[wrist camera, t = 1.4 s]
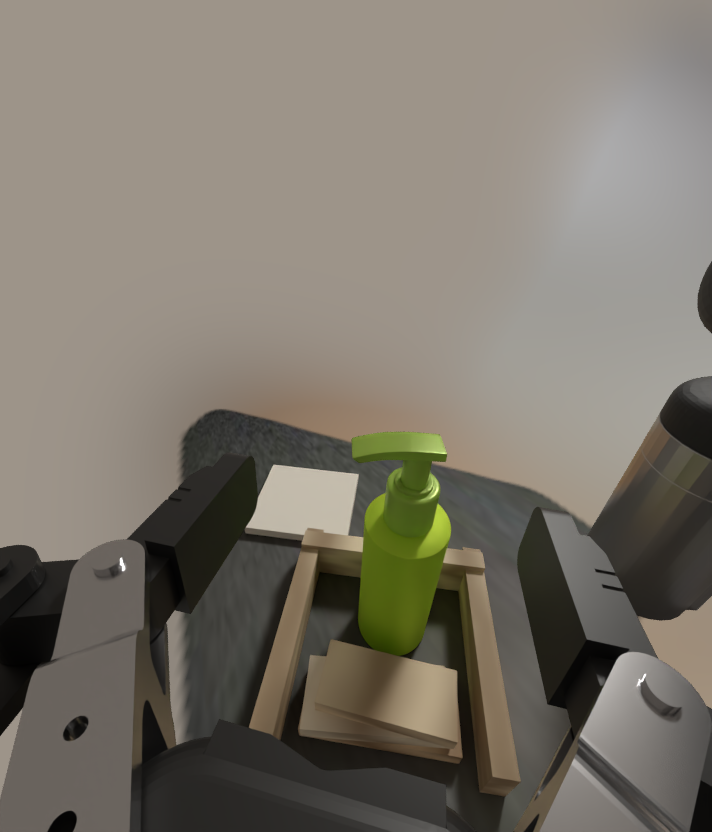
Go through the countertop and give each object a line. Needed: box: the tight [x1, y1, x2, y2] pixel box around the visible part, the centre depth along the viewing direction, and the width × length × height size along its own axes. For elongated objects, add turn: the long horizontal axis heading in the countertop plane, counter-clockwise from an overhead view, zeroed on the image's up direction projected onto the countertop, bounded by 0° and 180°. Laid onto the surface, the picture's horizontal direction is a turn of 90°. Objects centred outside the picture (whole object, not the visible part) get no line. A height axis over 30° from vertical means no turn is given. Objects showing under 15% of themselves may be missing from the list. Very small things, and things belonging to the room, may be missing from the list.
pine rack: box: [249, 528, 521, 797], centre depth 30 cm, size 17×16×4 cm
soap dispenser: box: [352, 432, 451, 656], centre depth 27 cm, size 6×7×20 cm
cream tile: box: [245, 465, 359, 541], centre depth 43 cm, size 11×10×1 cm
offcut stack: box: [298, 639, 463, 764], centre depth 26 cm, size 11×5×4 cm, turn 83°
